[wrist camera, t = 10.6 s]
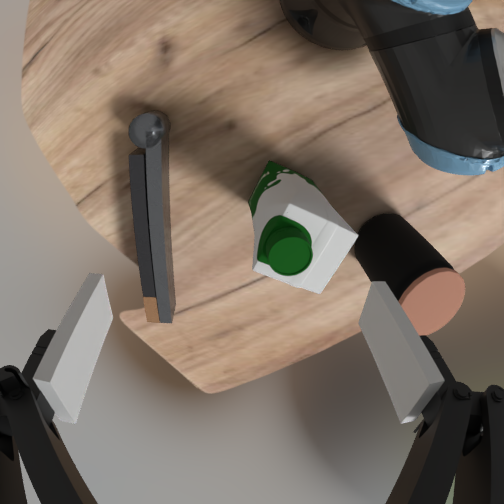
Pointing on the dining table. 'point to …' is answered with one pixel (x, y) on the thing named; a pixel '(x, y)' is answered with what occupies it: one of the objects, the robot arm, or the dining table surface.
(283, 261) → the milk carton
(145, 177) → the arm
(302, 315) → the dining table surface
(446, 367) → the robot arm
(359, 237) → the coffee jar
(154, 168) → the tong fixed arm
